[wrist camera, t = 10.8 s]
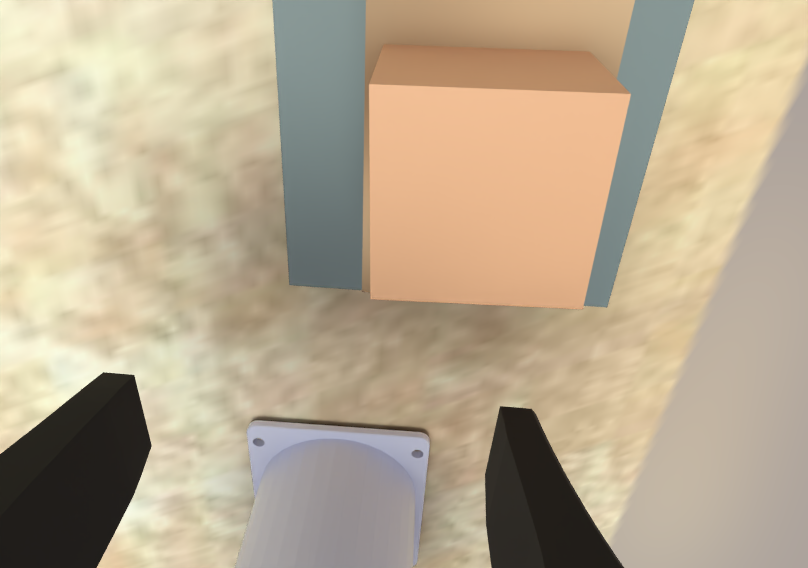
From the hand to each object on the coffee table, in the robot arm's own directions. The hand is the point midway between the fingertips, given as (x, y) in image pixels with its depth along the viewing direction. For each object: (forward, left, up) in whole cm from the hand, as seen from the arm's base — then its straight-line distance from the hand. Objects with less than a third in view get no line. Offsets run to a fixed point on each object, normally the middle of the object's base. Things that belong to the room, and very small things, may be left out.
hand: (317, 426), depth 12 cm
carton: (+5, -3, -4) cm, 7 cm away
